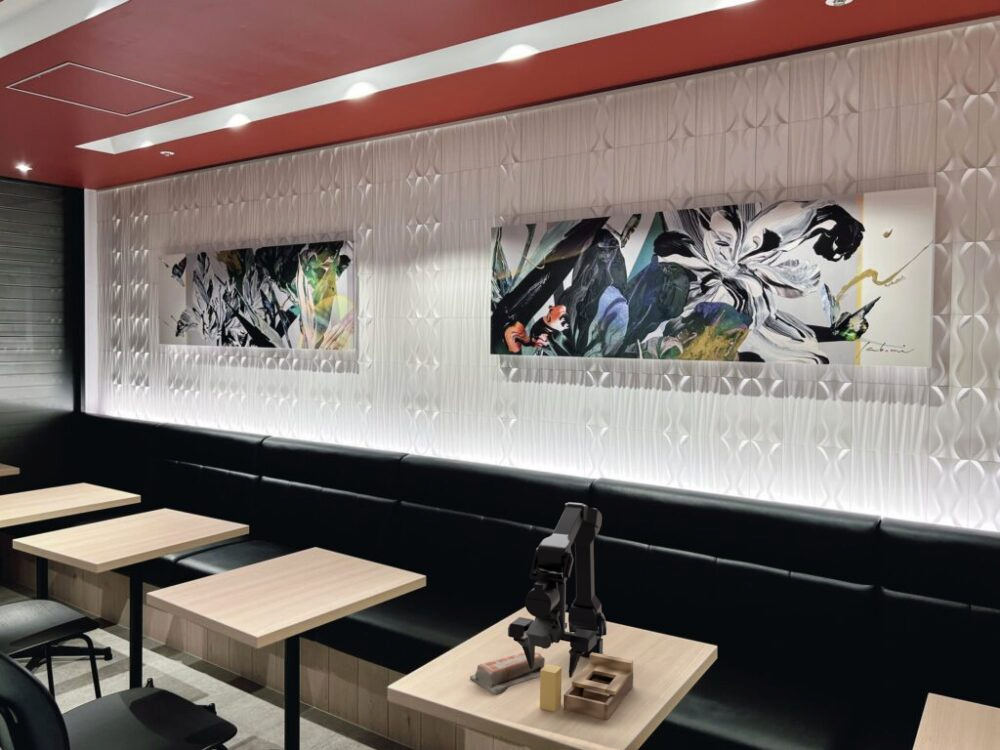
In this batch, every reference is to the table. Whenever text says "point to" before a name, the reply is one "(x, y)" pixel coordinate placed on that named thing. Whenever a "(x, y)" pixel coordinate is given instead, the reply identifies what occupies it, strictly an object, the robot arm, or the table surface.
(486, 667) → the packaged product
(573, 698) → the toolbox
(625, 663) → the lid
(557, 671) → the yellow rectangular block
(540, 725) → the table surface
